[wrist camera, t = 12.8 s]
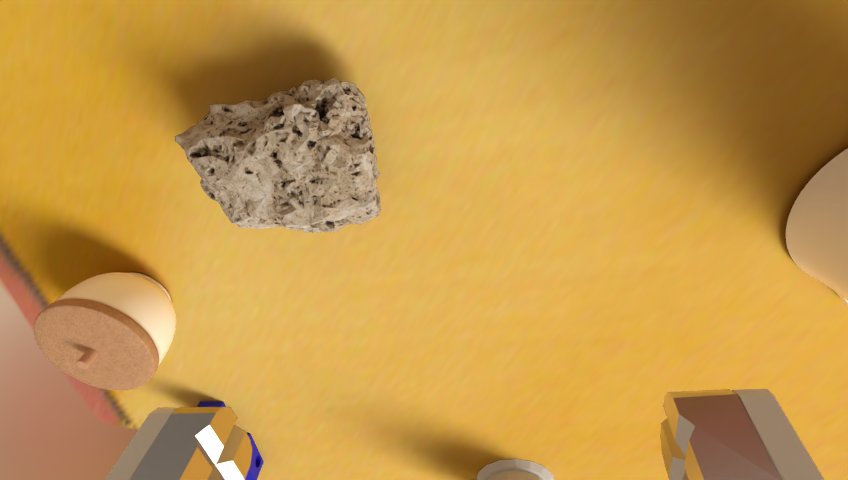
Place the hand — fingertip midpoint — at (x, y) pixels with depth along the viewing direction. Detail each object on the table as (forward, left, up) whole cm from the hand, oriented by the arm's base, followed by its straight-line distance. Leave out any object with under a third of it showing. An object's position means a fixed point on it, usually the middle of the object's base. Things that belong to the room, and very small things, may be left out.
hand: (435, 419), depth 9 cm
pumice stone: (+14, +5, -31) cm, 34 cm away
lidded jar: (+36, +19, -31) cm, 51 cm away
